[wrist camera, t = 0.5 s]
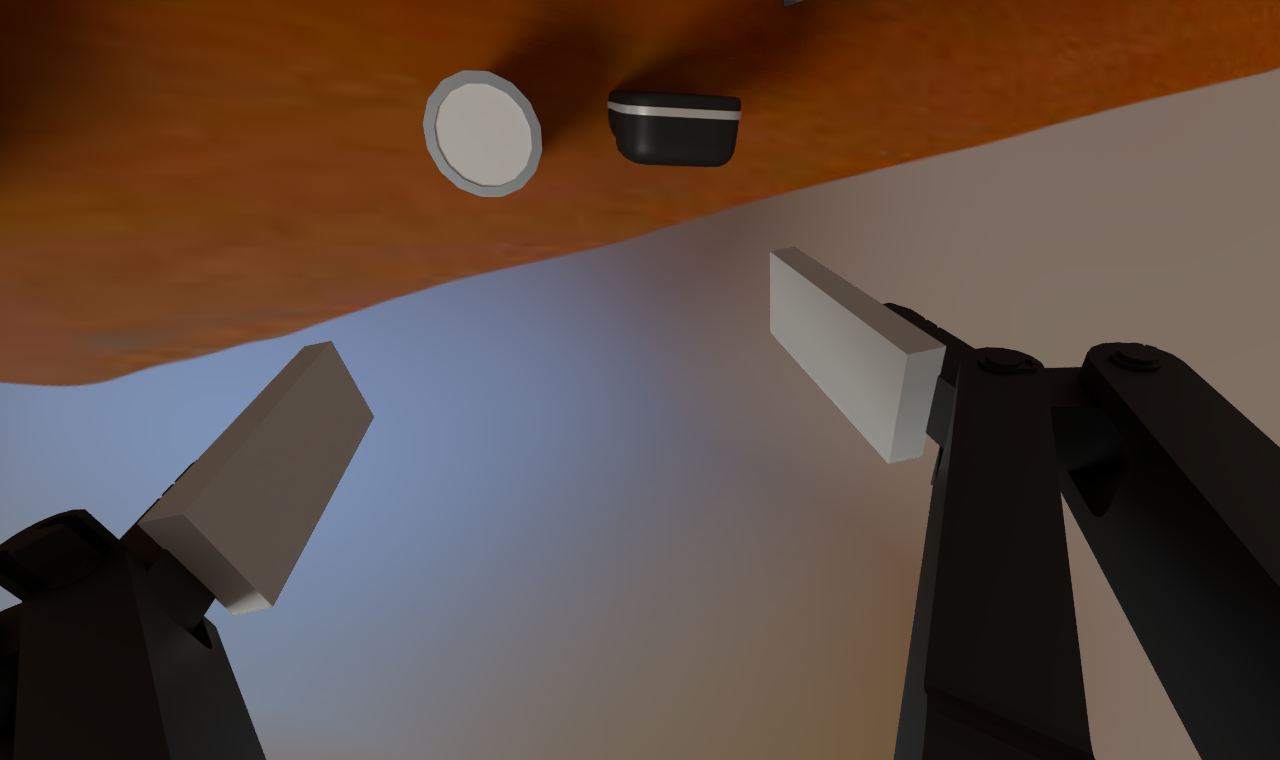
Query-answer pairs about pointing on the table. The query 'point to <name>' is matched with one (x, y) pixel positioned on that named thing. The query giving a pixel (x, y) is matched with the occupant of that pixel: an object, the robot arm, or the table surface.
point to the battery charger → (674, 127)
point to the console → (790, 2)
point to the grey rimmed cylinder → (482, 133)
